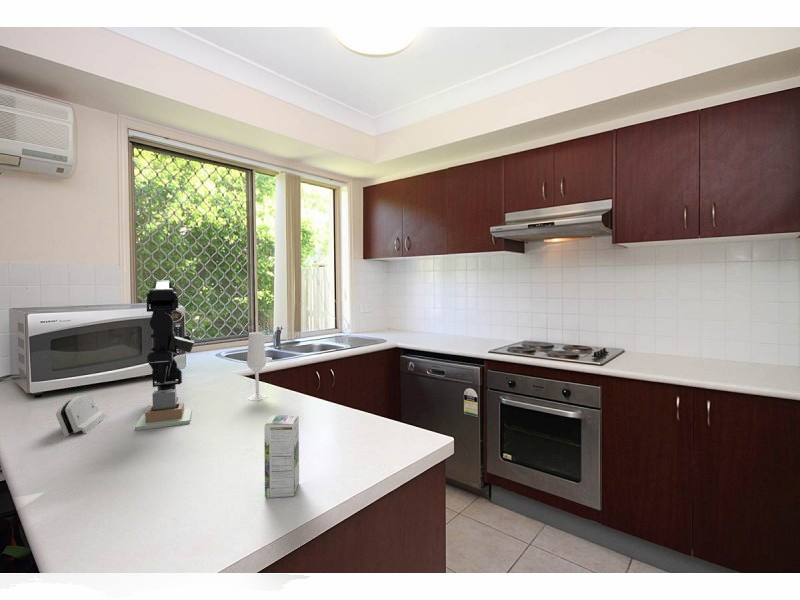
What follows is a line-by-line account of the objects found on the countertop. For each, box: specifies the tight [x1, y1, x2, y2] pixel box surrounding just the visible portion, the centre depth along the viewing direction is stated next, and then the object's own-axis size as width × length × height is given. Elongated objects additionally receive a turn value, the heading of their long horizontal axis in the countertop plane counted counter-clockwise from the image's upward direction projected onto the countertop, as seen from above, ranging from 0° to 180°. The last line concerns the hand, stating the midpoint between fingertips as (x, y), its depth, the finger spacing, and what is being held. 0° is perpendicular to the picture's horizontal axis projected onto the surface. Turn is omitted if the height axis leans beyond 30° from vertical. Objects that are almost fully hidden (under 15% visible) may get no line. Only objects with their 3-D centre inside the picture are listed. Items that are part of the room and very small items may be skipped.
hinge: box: [55, 394, 107, 437], centre depth 123 cm, size 17×5×10 cm, turn 18°
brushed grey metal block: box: [151, 388, 178, 411], centre depth 127 cm, size 4×6×8 cm, turn 113°
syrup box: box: [263, 414, 300, 499], centre depth 83 cm, size 6×6×14 cm
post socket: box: [134, 402, 193, 431], centre depth 127 cm, size 13×14×4 cm
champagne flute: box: [246, 331, 267, 401], centre depth 152 cm, size 7×7×24 cm
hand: (164, 380), depth 127 cm, fingers open, 9 cm apart
